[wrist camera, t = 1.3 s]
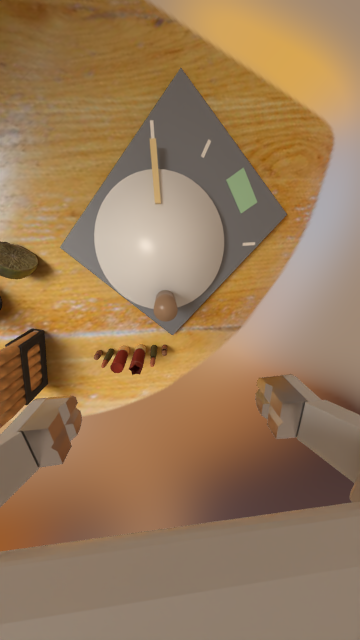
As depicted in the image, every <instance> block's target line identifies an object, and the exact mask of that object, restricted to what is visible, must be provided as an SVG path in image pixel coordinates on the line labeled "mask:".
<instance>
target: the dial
mask: <svg viewBox="0 0 360 640" xmlns="http://www.w3.org/2000/svg"><path fill="white" fill-rule="evenodd" d="M150 150H151V162H152V169H149V170H143V171H139V172H136V173H134V174H132V175H129V176H127V177H126V178H124V179H123V180H121V181H120V182H119V183H118V184H116V185H115V186H114V187H113V188H112V189H111V191H110V192H109V193H108V194H107V196H106V197H105V199H104V201H103V202H102V204H101V206H100V209H99V211H98V214H97V218H96V222H95V230H94V243H95V251H96V255H97V258H98V262H99V264H100V267H101V269H102V271H103V273H104V275H105V276H106V278H107V279H108V281H109V282H110V284H111V285H112V286H113V287H114V288H115V289H116V290H117V291H118V292H119V293H120V294H121V295H122V296H124V297H125V298H127V299H128V300H130V301H132V302H134V303H136V304H138V305H141V306H143V307H147V308H151V309H154V314H155V316H156V318H157V319H159V320H161V321H164V322H167V321H171V320H173V319H174V318H175V317H176V315H177V312H178V309H177V307H181V306H183V305H186V304H188V303H190V302H192V301H193V300H195V299H196V298H198V297H199V296H200V295H201V294H202V293H204V292H205V291H206V290H207V288H208V287H209V286H210V285H211V283H212V282H213V280H214V279H215V277H216V275H217V273H218V271H219V268H220V265H221V262H222V258H223V253H224V232H223V226H222V222H221V219H220V216H219V213H218V211H217V209H216V207H215V205H214V203H213V201H212V200H211V199H210V197H209V196H208V194H207V193H206V192H205V191H204V190H203V189H202V188H201V187H200V186H199V185H198V184H196V183H195V182H194V181H193V180H191V179H189V178H188V177H186V176H184V175H182V174H179V173H177V172H174V171H170V170H165V169H158V159H157V145H156V138H150Z"/></svg>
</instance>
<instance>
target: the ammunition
mask: <svg viewBox="0 0 360 640" xmlns="http://www.w3.org/2000/svg"><path fill="white" fill-rule="evenodd" d="M129 352H130V350H129V347H127V346H124V345H123V346H121V347H120V348H119V350H118V352H117V354H116V356H115V358H114V361H113V363H112V365H111V370H112V371H113V372H114V373H120V372H122V370H123V368H124V366H125V363H126V360H127V357H128V354H129ZM102 353H103V352H102V351H101V350H99V351H97V353H96V354H95V356H94V359H95V360H98V359H99V358H100V357H101V355H102ZM145 353H146V347H145V346H144V345H143V344H139V345H137V346H136V348H135V351H134V354H133V358H132V361H131V364H130V367H129V370H131V371H132V375H134V374H136V373H137V374H140V373H141V370H142V368H143V363H144V358H145ZM156 353H157V346H156V345H153V346H152V347H151V362H150V364H151V367H153V366H154V364H155V358H156ZM113 354H114V349H109V350H108V352H107V354H106V356H105V358H104V360H103V363H102V366H101V367H102V368H104V367H105V366H106V365H107V363H108V362H109V361H110V359H111V357H112V355H113ZM166 354H167V346H166V345H163V346H162V355H163V356H165V355H166Z"/></svg>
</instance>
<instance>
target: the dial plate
mask: <svg viewBox="0 0 360 640" xmlns="http://www.w3.org/2000/svg"><path fill="white" fill-rule="evenodd" d="M150 138H156V145H157V159H158V169H165V170H170V171H174V172H177V173H179V174H182V175H184V176H186V177H188V178H189V179H191V180H193V181H194V182H195V183H196V184H198V185H199V186H200V187H201V188H202V189H203V190H204V191H205V192H206V193H207V194H208V196H209V197H210V199H211V200H212V201H213V203H214V205H215V207H216V209H217V211H218V213H219V216H220V219H221V222H222V226H223V232H224V253H223V258H222V262H221V265H220V268H219V271H218V273H217V275H216V277H215V279H214V280H213V282H212V283H211V285H210V286H209V287H208V288H207V290H206V291H205V292H204V293H202V294H201V295H200V296H199V297H198V298H196V299H195V300H193V301H192V302H190V303H188V304H186V305H183V306H181V307H177V309H178V312H177V315H176V317H175V318H174V319H173V320H171V321H167V322H164V321H161V320H159V319H157V318H156V316H155V314H154V309H151V308H147V307H143V306H141V305H138V304H136V303H134V302H132V301H130V300H128V299H127V298H125V297H124V296H123V297H124V298H125V299H127V300H128V301H129V302H130V303H132V304H133V305H134V306H136V307H137V308H138V309H139V310H141V311H142V312H143V313H145V314H146V315H147V316H148V317H150V318H151V319H152V320H153V321H155V322H156V323H157V324H159V325H160V326H161V327H162V328H164V329H165V330H166V331H168V332H169V333H170V334H171V335H173V334H174V333H175V332H176V331H177V330H178V329H179V328H180V327H181V326H182V325H183V324H184V323H185V322H186V321H187V320H188V319H189V318H190V316H191V315H192V314H193V313H194V312H195V311H196V310H197V309H198V308H199V307H200V306H201V305H202V304H203V303H204V302H205V301H206V300H207V299H208V297H209V296H210V295H211V294H212V293H213V292H214V291H215V290H216V289H217V288H218V287H219V286H220V285H221V284H222V283H223V282H224V281H225V280H226V278H227V277H228V276H229V275H230V274H231V273H232V272H233V271H234V270H235V269H236V268H237V267H238V266H239V265H240V264H241V263H242V262H243V261H244V259H245V258H246V257H247V256H248V255H249V254H250V253H251V252H252V251H253V250H254V249H255V248H256V247H257V246H258V245H259V244H260V243H261V242H262V241H263V239H264V238H265V237H266V236H267V235H268V234H269V233H270V232H271V231H272V230H273V229H274V228H275V227H276V226H277V225H278V224H279V223H280V222H281V220H282V219H283V218H284V217H285V216H286V215H287V214H286V212H285V211H284V210H283V208H282V207H281V205H280V204H279V203H278V201H277V200H276V199H275V197H274V196H273V194H272V193H271V192H270V190H269V189H268V187H267V186H266V185H265V183H264V182H263V181H262V179H261V178H260V176H259V175H258V174H257V172H256V171H255V170H254V168H253V167H252V165H251V164H250V163H249V161H248V160H247V158H246V157H245V156H244V154H243V153H242V152H241V150H240V149H239V147H238V146H237V145H236V143H235V142H234V140H233V139H232V138H231V136H230V135H229V134H228V132H227V131H226V129H225V128H224V127H223V125H222V124H221V122H220V121H219V120H218V118H217V117H216V116H215V114H214V113H213V111H212V110H211V109H210V107H209V106H208V104H207V103H206V102H205V100H204V99H203V98H202V96H201V95H200V93H199V92H198V91H197V89H196V88H195V86H194V85H193V84H192V82H191V81H190V80H189V78H188V77H187V75H186V74H185V73H184V71H183V70H182V68H180V70H179V71H178V73H177V74H176V76H175V77H174V79H173V80H172V82H171V83H170V85H169V86H168V87H167V89H166V90H165V92H164V93H163V95H162V96H161V98H160V99H159V101H158V102H157V104H156V105H155V107H154V108H153V110H152V111H151V113H150V114H149V116H148V117H147V119H146V120H145V122H144V123H143V125H142V126H141V128H140V129H139V131H138V132H137V134H136V135H135V137H134V138H133V140H132V141H131V143H130V144H129V145H128V147H127V148H126V150H125V151H124V153H123V154H122V156H121V157H120V159H119V160H118V162H117V163H116V165H115V166H114V168H113V169H112V171H111V172H110V174H109V175H108V177H107V178H106V180H105V181H104V183H103V184H102V186H101V187H100V189H99V190H98V192H97V193H96V195H95V196H94V198H93V199H92V201H91V202H90V203H89V205H88V206H87V208H86V209H85V211H84V212H83V214H82V215H81V217H80V218H79V220H78V221H77V223H76V224H75V226H74V227H73V229H72V230H71V232H70V233H69V235H68V236H67V238H66V239H65V241H64V242H63V244H62V245H61V247H60V248H61V249H63V250H64V251H65V252H67V253H68V254H69V255H70V256H72V257H73V258H74V259H75V260H77V261H78V262H79V263H81V264H82V265H83V266H84V267H86V268H87V269H88V270H90V271H91V272H92V273H93V274H95V275H96V276H97V277H98V278H100V279H101V280H102V281H104V282H105V283H106V284H107V285H109V286H110V287H111V288H113V289H114V290H115V291H116V292H118V291H117V290H116V289H115V288H114V287H113V286H112V285H111V284H110V282H109V281H108V279H107V278H106V276H105V275H104V273H103V271H102V269H101V267H100V264H99V262H98V258H97V255H96V251H95V243H94V230H95V222H96V218H97V214H98V211H99V209H100V206H101V204H102V202H103V201H104V199H105V197H106V196H107V194H108V193H109V192H110V191H111V189H112V188H113V187H114V186H115V185H116V184H118V183H119V182H120V181H121V180H123V179H124V178H126V177H127V176H129V175H132V174H134V173H136V172H139V171H143V170H149V169H152V162H151V150H150ZM118 293H119V292H118ZM119 294H120V293H119ZM120 295H121V294H120Z"/></svg>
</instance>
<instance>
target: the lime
mask: <svg viewBox="0 0 360 640" xmlns="http://www.w3.org/2000/svg"><path fill="white" fill-rule="evenodd" d="M37 265H38V259H37V258H36V256H35V255H34V254H33V253H31V252H30V251H28V250H26V249H24V248H22V247H20V246H17V245H14V244H10V243H7V242H0V275H1V276H3V277H6V278H10V279H22V278H25V277H27V276H29V275H30V274H31V273H32V272H34V271H35V269H36V268H37Z"/></svg>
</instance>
